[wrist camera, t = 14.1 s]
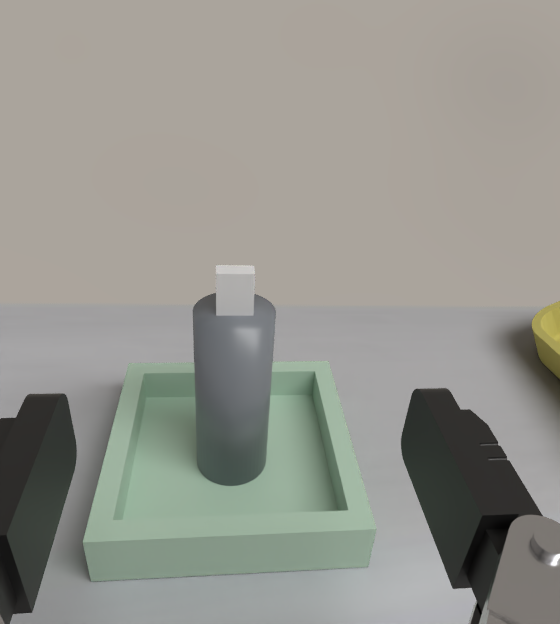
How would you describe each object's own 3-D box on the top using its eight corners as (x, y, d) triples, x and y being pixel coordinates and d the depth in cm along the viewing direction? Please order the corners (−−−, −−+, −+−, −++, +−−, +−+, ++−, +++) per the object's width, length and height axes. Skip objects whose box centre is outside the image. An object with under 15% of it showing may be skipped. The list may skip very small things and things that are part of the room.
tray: (91, 581, 22) (82, 542, 21) (132, 397, 33) (128, 363, 31) (368, 567, 24) (376, 529, 22) (324, 394, 34) (328, 361, 33)
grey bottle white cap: (195, 487, 26) (189, 290, 20) (198, 435, 29) (193, 251, 23) (268, 484, 26) (282, 290, 21) (263, 433, 29) (274, 252, 24)
